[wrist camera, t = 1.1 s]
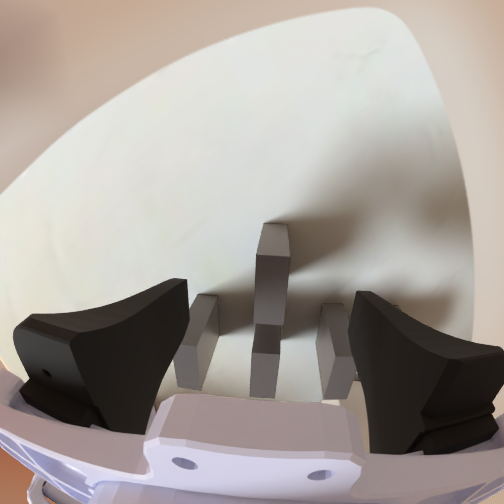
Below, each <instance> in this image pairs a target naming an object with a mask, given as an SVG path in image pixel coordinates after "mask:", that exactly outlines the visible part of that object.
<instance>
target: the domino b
mask: <svg viewBox="0 0 504 504" xmlns="http://www.w3.org/2000/svg"><path fill="white" fill-rule="evenodd" d="M189 315H190V321H189V324H188V327H187V330H186V333H185V336H184V338H183V340H182V342H181V344H180V346H179V348H178V350H177V352H176V354H175V356H174V358H173V361H174V367H175V373H176V378H177V384H178V387H181V388H187V389H193V390H200V391H201V390H202V387H203V384H204V380H205V377H206V374H207V371H208V368H209V365H210V362H211V359H212V356H213V353H214V350H215V347H216V344H217V341H218V338H219V322H218V296H211V295H200V294H198V295H197V296H196V298H195V300H194V302H193V304H192V305H191V307H190V309H189Z"/></svg>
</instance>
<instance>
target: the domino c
mask: <svg viewBox="0 0 504 504" xmlns="http://www.w3.org/2000/svg"><path fill="white" fill-rule="evenodd" d="M280 338H281V325H269V324H256V328H255V335H254V341H253V348H252V358H251V379H250V397H260V398H275V391H276V384H277V376H278V368H279V360H280Z"/></svg>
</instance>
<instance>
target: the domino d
mask: <svg viewBox="0 0 504 504" xmlns="http://www.w3.org/2000/svg"><path fill="white" fill-rule="evenodd" d="M349 323H350V322H349V319H348V317H347V314H346V311H345V309H344V306H343V304H330V303H323V305H322V311H321V316H320V322H319V328H318V333H317V338H316V350H317V357H318V364H319V371H320V378H321V386H322V394H323V400H344V399H347V397H348V394H349V391H350V389H351V386H352V383H353V380H354V377H355V374H356V371H357V369H356V366H355V363H354V359H353V356H352V353H351V349H350V343H349V337H348V327H349Z"/></svg>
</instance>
